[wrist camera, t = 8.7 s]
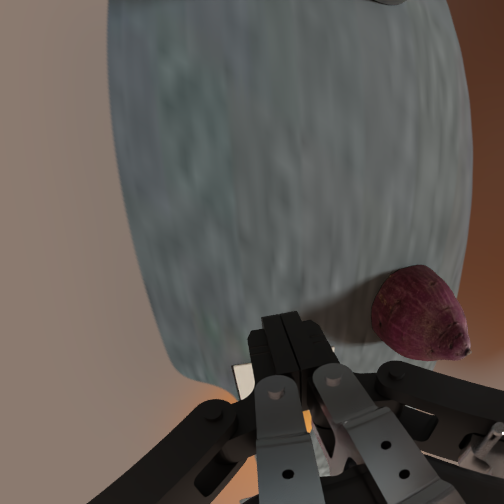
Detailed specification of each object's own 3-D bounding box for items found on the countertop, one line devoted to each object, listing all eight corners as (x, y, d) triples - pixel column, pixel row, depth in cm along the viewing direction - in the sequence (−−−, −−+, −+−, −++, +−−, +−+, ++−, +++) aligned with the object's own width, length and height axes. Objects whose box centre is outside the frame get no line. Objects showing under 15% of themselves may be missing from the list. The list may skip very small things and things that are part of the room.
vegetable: (352, 285, 33) (391, 344, 18) (421, 245, 31) (493, 276, 16) (380, 349, 34) (416, 423, 19) (442, 312, 32) (502, 366, 17)
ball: (279, 446, 32) (270, 412, 36) (317, 436, 32) (307, 402, 36) (273, 445, 28) (263, 406, 32) (318, 433, 28) (306, 394, 32)
